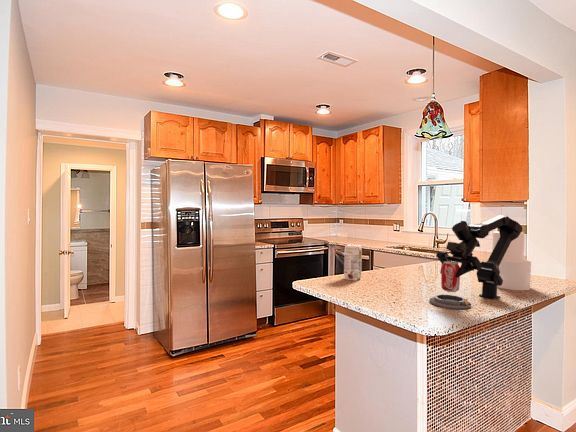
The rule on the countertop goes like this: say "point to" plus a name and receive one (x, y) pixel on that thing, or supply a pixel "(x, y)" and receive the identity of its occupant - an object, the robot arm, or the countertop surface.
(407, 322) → the countertop surface
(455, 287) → the soda can
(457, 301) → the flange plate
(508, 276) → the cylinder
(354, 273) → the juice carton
